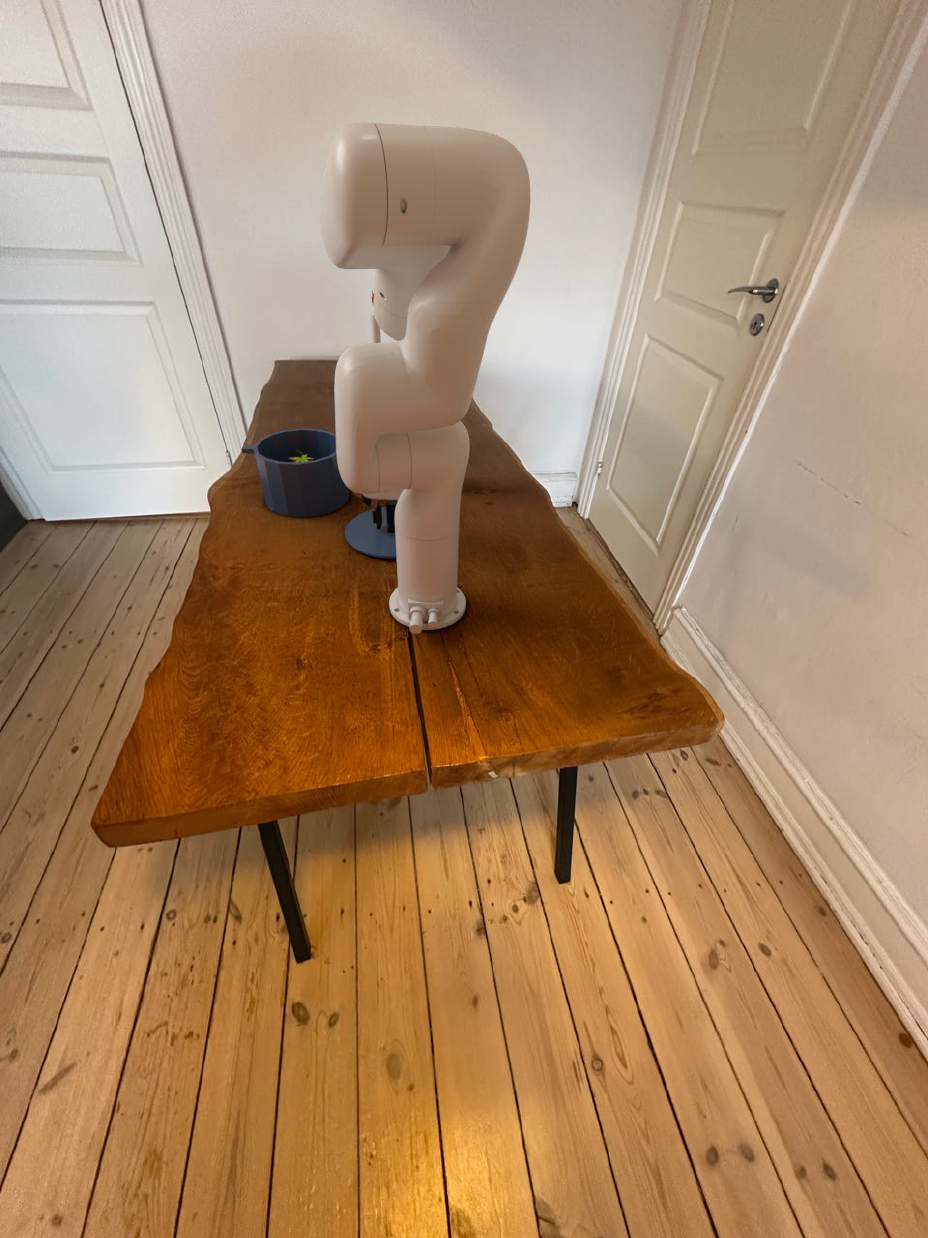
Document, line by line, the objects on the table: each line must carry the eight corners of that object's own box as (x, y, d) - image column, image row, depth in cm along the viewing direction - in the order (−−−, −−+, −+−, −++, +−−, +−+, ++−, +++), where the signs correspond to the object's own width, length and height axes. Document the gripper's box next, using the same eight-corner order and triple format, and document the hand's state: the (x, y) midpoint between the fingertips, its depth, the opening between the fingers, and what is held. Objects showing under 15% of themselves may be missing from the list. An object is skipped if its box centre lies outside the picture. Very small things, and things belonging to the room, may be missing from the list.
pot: (354, 519, 111) (349, 466, 104) (241, 515, 111) (227, 461, 103) (367, 480, 125) (363, 430, 117) (265, 476, 124) (255, 426, 117)
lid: (439, 563, 100) (439, 529, 96) (337, 559, 100) (332, 525, 96) (442, 512, 115) (443, 481, 110) (354, 509, 114) (350, 477, 110)
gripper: (335, 441, 91) (346, 535, 103) (436, 445, 92) (436, 538, 104) (343, 424, 97) (352, 515, 109) (438, 428, 98) (437, 518, 109)
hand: (393, 525), depth 106 cm, fingers open, 4 cm apart
